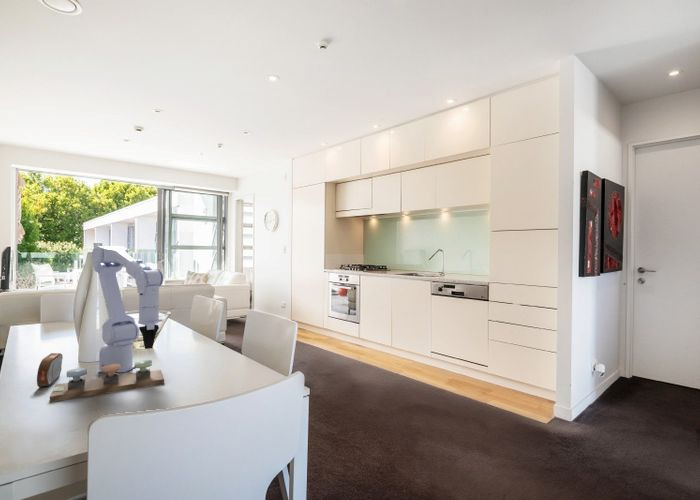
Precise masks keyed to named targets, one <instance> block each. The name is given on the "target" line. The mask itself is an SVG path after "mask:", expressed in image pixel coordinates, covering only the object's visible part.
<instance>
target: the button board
mask: <svg viewBox="0 0 700 500" xmlns="http://www.w3.org/2000/svg"><path fill="white" fill-rule="evenodd" d="M119 373H120V372H115V376H113V377H108V374H103V377H99V378H94V379H93V378H92V379H87V380H86V377H81V378H80V381H78V382H73V378H72V379H69V380H68V382H64V383H59V384H57V383H56V384H54V387H53V389H52V391H51V393H50V395H49V403H52V402H51V401H54V402H59V401H58V400H60V401H64V400H72V399H77V398H78V399H79V398H84V397H90V396H91V397H92V396H95V395H103V394H108V393H109V394H110V393H116V392H121V391H123V392H124V391H128V390H134V389H140V388H147V387H148V388H149V387H153V386H160V385H165V378H164V374H163V372H162V370H161V369H157V370H150V368H146V372H143V373H141V372H140V369H138V370H136V371H135V372H134V373H129V374H122V375H121V374H120V375H119Z"/></svg>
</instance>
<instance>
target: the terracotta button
mask: <svg viewBox="0 0 700 500" xmlns="http://www.w3.org/2000/svg"><path fill="white" fill-rule="evenodd" d="M120 369H121V365H120V364H110V365H105V366H103V367H102V372H101V373H104V374H105V373H106V374H107V375H108V377H113V376H115V374H116V373H117V372H116V371H119V370H120Z"/></svg>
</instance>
